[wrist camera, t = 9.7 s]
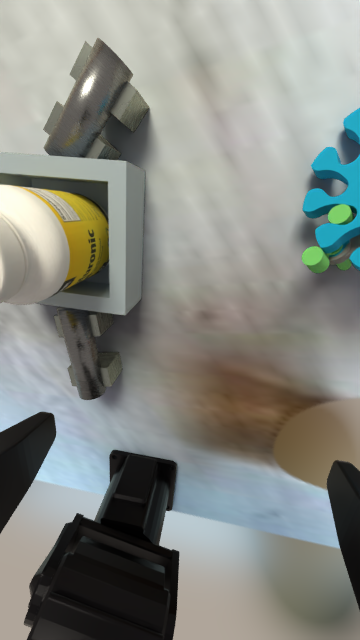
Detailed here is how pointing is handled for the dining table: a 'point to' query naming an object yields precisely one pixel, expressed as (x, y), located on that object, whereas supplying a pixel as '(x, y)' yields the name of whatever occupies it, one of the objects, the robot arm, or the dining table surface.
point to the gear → (336, 208)
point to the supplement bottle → (48, 242)
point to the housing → (124, 222)
